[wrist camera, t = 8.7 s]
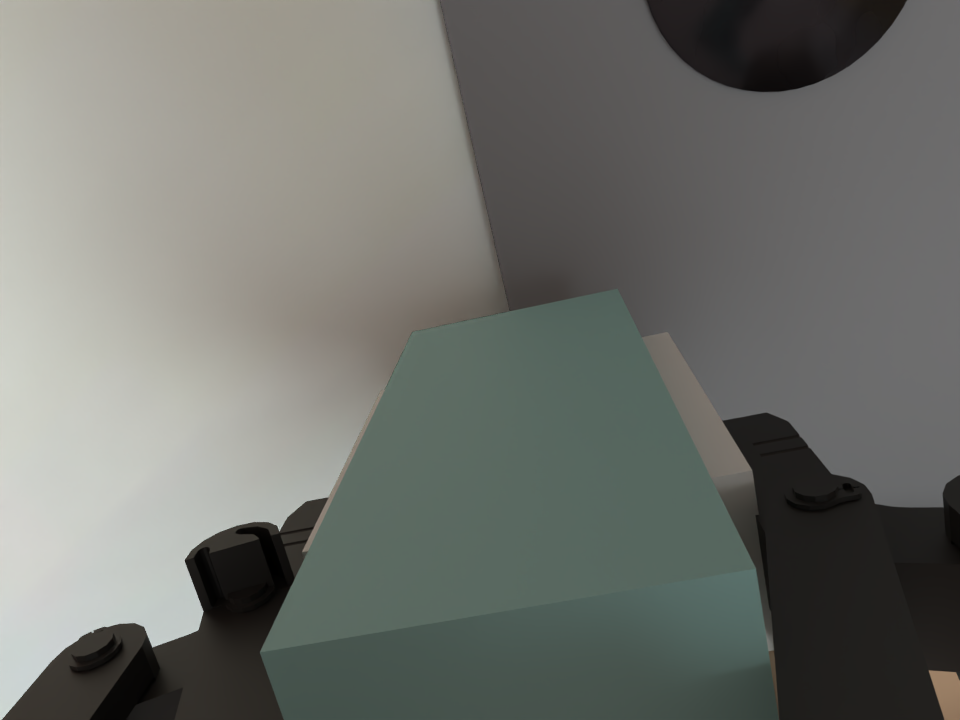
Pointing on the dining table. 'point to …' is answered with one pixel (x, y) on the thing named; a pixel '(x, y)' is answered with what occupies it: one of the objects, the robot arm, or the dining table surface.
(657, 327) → the runner mat
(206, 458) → the dining table surface
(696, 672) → the crook
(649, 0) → the black round disc
